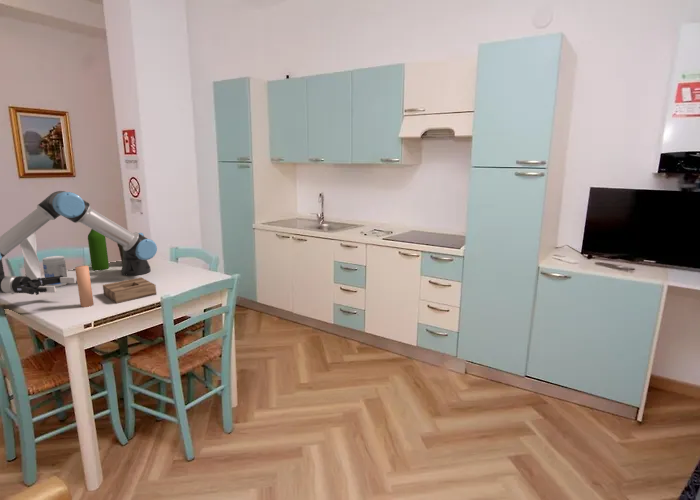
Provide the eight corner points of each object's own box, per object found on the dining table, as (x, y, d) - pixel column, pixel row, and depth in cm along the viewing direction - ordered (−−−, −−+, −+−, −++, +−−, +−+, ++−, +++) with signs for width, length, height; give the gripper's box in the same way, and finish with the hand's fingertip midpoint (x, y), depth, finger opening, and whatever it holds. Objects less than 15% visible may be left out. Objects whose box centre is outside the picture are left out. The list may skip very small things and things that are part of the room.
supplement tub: (41, 287, 213) (37, 260, 210) (53, 282, 222) (49, 255, 219) (61, 287, 213) (56, 259, 210) (72, 282, 222) (68, 255, 219)
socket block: (103, 294, 202) (102, 284, 201) (142, 286, 215) (141, 277, 214) (116, 303, 190) (115, 293, 189) (156, 294, 203) (155, 284, 202)
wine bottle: (94, 267, 252) (87, 214, 245) (111, 266, 255) (104, 213, 248) (89, 271, 244) (82, 216, 237) (106, 270, 246) (99, 215, 239)
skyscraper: (45, 278, 229) (37, 228, 223) (43, 282, 222) (34, 230, 216) (26, 280, 225) (17, 229, 219) (23, 284, 218) (14, 232, 212)
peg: (79, 305, 188) (73, 267, 184) (91, 302, 191) (86, 265, 187) (82, 308, 184) (76, 269, 180) (95, 305, 188) (89, 267, 184)
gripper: (38, 284, 198) (83, 284, 198) (-4, 302, 174) (47, 302, 174) (36, 269, 196) (81, 269, 197) (-8, 285, 172) (44, 285, 172)
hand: (65, 284), depth 185 cm, fingers open, 13 cm apart
